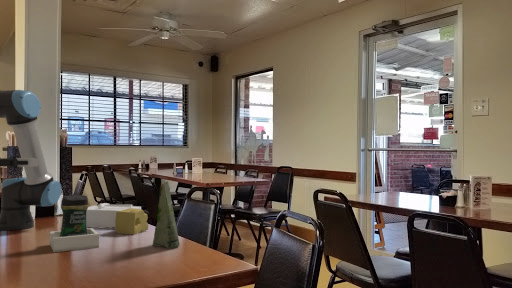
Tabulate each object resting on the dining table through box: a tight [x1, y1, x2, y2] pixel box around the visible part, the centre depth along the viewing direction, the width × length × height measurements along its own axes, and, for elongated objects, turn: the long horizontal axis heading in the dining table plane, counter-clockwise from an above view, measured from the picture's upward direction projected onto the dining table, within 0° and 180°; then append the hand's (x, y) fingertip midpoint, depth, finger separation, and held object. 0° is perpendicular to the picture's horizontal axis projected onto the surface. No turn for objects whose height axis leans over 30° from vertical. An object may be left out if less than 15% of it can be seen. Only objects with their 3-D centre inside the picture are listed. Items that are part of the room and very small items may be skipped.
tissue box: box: [86, 202, 142, 228], centre depth 199 cm, size 14×25×11 cm, turn 85°
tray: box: [49, 227, 100, 253], centre depth 155 cm, size 13×15×5 cm
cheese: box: [114, 208, 149, 235], centre depth 183 cm, size 10×11×10 cm
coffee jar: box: [60, 194, 89, 237], centre depth 155 cm, size 10×8×19 cm
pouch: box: [151, 180, 180, 249], centre depth 157 cm, size 11×12×25 cm
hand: (37, 162), depth 152 cm, fingers open, 13 cm apart
